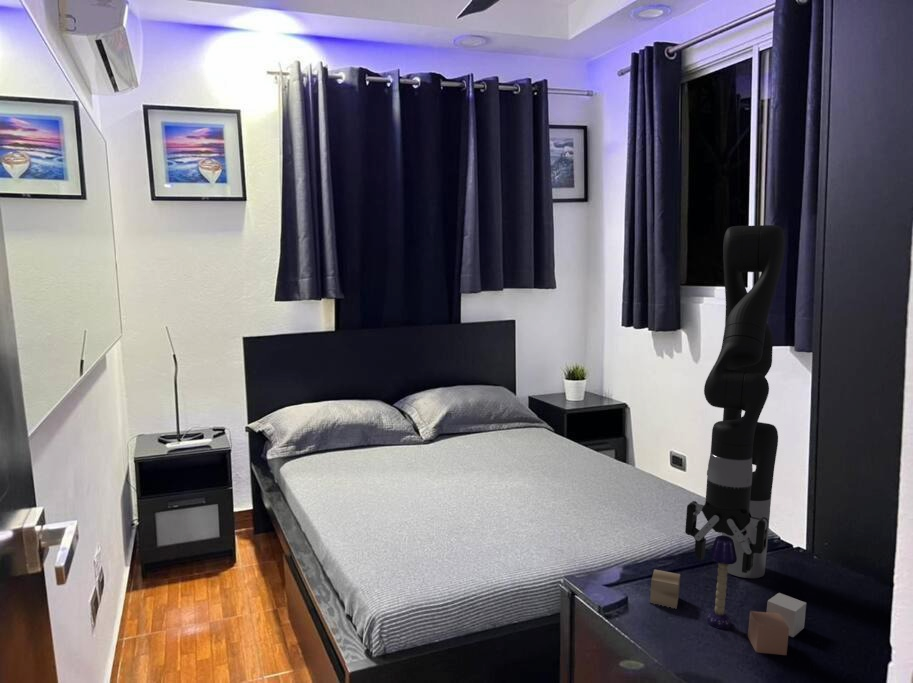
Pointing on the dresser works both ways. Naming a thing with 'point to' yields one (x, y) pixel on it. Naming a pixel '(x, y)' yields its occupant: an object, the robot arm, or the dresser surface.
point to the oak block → (665, 588)
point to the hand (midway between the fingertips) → (722, 564)
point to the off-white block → (788, 611)
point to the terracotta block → (768, 633)
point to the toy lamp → (721, 579)
